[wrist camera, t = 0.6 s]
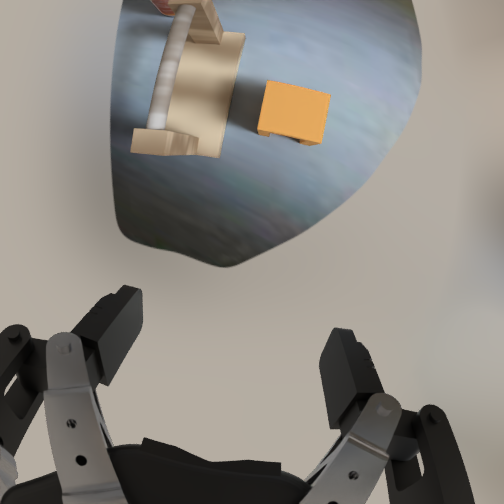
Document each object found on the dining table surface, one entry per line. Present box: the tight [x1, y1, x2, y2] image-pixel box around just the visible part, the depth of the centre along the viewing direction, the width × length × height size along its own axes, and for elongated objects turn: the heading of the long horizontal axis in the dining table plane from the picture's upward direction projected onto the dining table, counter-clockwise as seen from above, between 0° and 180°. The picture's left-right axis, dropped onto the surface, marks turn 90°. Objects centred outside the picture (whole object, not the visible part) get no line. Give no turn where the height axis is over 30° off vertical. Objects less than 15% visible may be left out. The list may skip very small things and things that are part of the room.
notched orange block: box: [257, 80, 331, 146], centre depth 25 cm, size 5×6×7 cm
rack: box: [131, 0, 245, 158], centre depth 22 cm, size 16×8×12 cm, turn 169°
